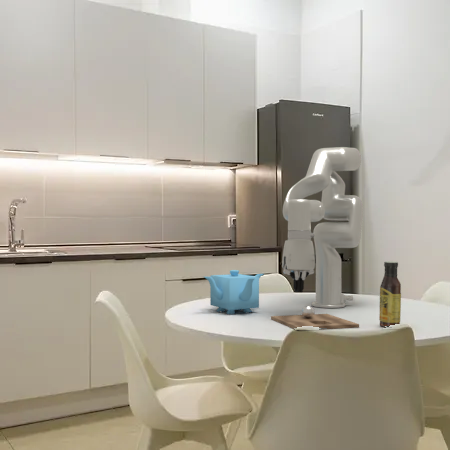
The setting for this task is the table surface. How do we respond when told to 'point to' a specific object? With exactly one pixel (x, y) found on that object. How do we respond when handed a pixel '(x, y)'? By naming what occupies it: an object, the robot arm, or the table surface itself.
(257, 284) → the teakettle
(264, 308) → the table surface
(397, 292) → the sauce bottle
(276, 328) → the table surface
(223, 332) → the table surface
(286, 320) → the walnut board
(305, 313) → the steel ball
